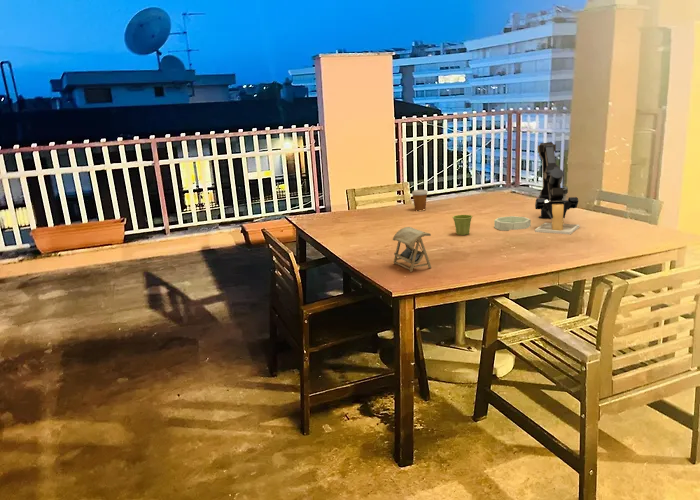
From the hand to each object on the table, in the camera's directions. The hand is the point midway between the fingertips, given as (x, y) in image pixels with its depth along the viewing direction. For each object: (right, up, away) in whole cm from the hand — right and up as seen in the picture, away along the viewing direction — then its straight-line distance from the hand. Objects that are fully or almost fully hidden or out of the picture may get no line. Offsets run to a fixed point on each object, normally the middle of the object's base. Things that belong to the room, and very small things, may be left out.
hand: (558, 218), depth 252 cm
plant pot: (-42, -7, +10) cm, 44 cm away
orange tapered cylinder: (+1, -5, +3) cm, 6 cm away
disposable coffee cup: (-54, +9, +79) cm, 96 cm away
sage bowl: (-16, -4, +17) cm, 24 cm away
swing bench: (-73, -22, -37) cm, 84 cm away
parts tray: (+1, -6, +3) cm, 7 cm away
